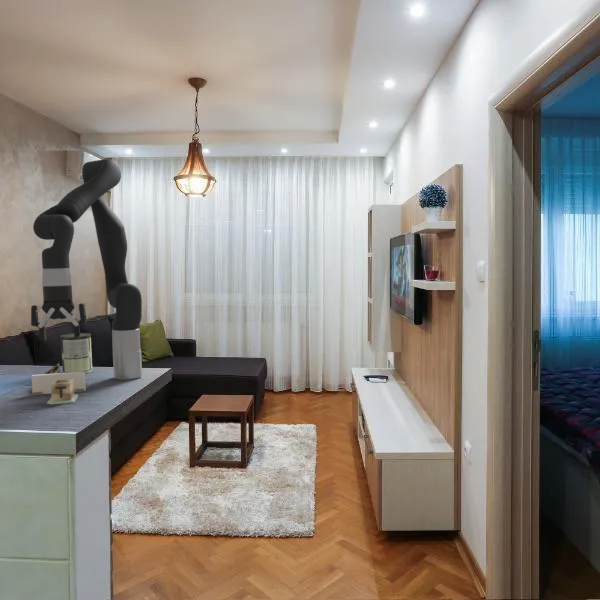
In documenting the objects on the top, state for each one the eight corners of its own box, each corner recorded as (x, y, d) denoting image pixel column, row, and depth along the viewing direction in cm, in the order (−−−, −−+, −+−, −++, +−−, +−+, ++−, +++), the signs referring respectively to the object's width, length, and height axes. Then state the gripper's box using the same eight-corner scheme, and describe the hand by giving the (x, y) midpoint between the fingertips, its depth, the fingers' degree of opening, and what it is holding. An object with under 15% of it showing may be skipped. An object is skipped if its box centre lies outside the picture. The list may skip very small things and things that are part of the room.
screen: (86, 389, 151) (85, 370, 150) (84, 391, 148) (83, 373, 147) (34, 393, 147) (33, 374, 146) (31, 395, 144) (30, 376, 143)
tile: (78, 396, 143) (78, 394, 143) (73, 402, 136) (73, 400, 136) (52, 398, 141) (52, 396, 141) (47, 404, 134) (46, 402, 134)
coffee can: (57, 372, 175) (55, 335, 174) (83, 367, 183) (81, 332, 182) (71, 376, 169) (69, 337, 168) (98, 370, 177) (96, 334, 176)
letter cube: (74, 395, 141) (73, 378, 141) (70, 399, 136) (70, 382, 136) (55, 396, 140) (55, 380, 140) (51, 401, 135) (51, 384, 135)
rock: (61, 386, 149) (69, 362, 156) (36, 379, 145) (46, 355, 153) (52, 401, 153) (60, 377, 160) (28, 395, 150) (38, 371, 157)
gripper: (85, 283, 142) (88, 336, 143) (33, 284, 138) (36, 339, 139) (81, 284, 134) (84, 340, 136) (26, 285, 130) (29, 343, 132)
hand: (60, 339), depth 137 cm, fingers open, 8 cm apart
